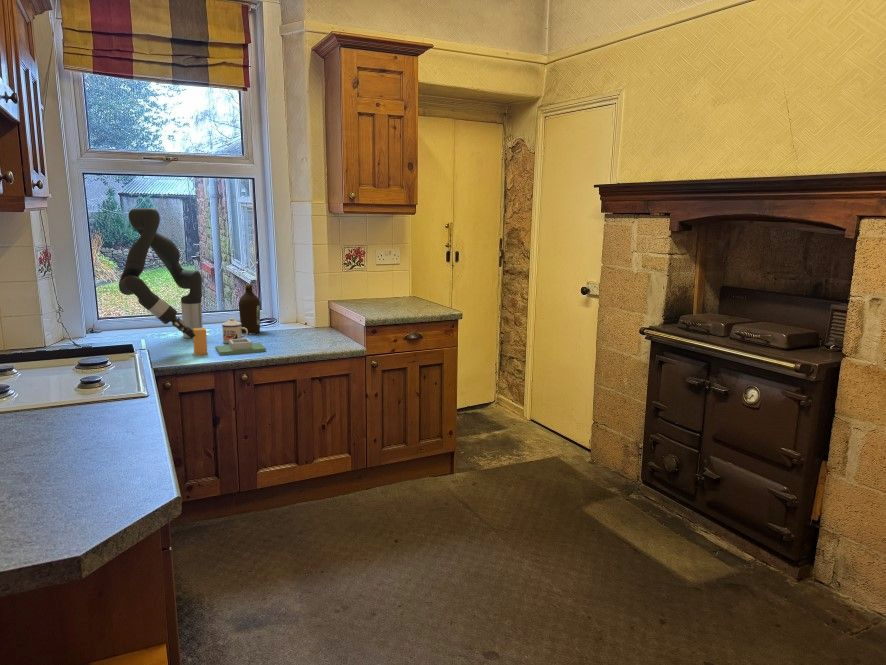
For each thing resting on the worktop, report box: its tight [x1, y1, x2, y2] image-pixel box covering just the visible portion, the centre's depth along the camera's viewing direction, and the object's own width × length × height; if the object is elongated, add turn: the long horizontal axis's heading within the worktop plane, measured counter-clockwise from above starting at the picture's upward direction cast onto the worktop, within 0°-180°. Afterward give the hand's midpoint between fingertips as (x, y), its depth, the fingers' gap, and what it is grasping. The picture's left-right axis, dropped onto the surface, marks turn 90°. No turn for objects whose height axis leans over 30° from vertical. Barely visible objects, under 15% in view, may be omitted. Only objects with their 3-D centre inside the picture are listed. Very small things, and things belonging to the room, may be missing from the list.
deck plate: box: [214, 337, 267, 356], centre depth 278 cm, size 13×20×4 cm, turn 118°
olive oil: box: [238, 284, 261, 334], centre depth 314 cm, size 11×11×25 cm
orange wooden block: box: [192, 327, 208, 356], centre depth 270 cm, size 5×5×11 cm
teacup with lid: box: [221, 317, 249, 345], centre depth 293 cm, size 12×9×12 cm
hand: (192, 335), depth 268 cm, fingers open, 8 cm apart
